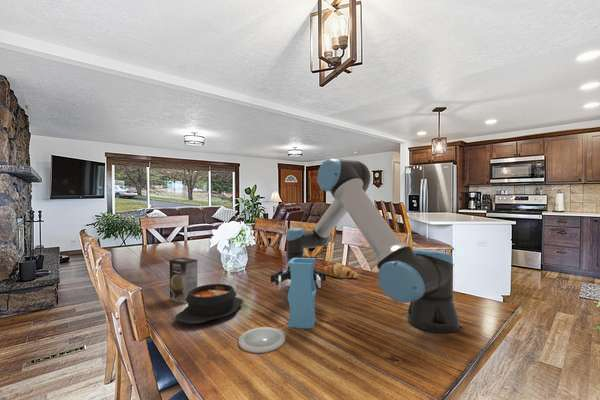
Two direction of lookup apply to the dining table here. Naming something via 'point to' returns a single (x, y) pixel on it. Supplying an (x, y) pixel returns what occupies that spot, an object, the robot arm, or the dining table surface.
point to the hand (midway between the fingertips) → (299, 284)
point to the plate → (261, 339)
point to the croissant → (339, 271)
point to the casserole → (209, 303)
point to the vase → (302, 293)
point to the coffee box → (182, 278)
